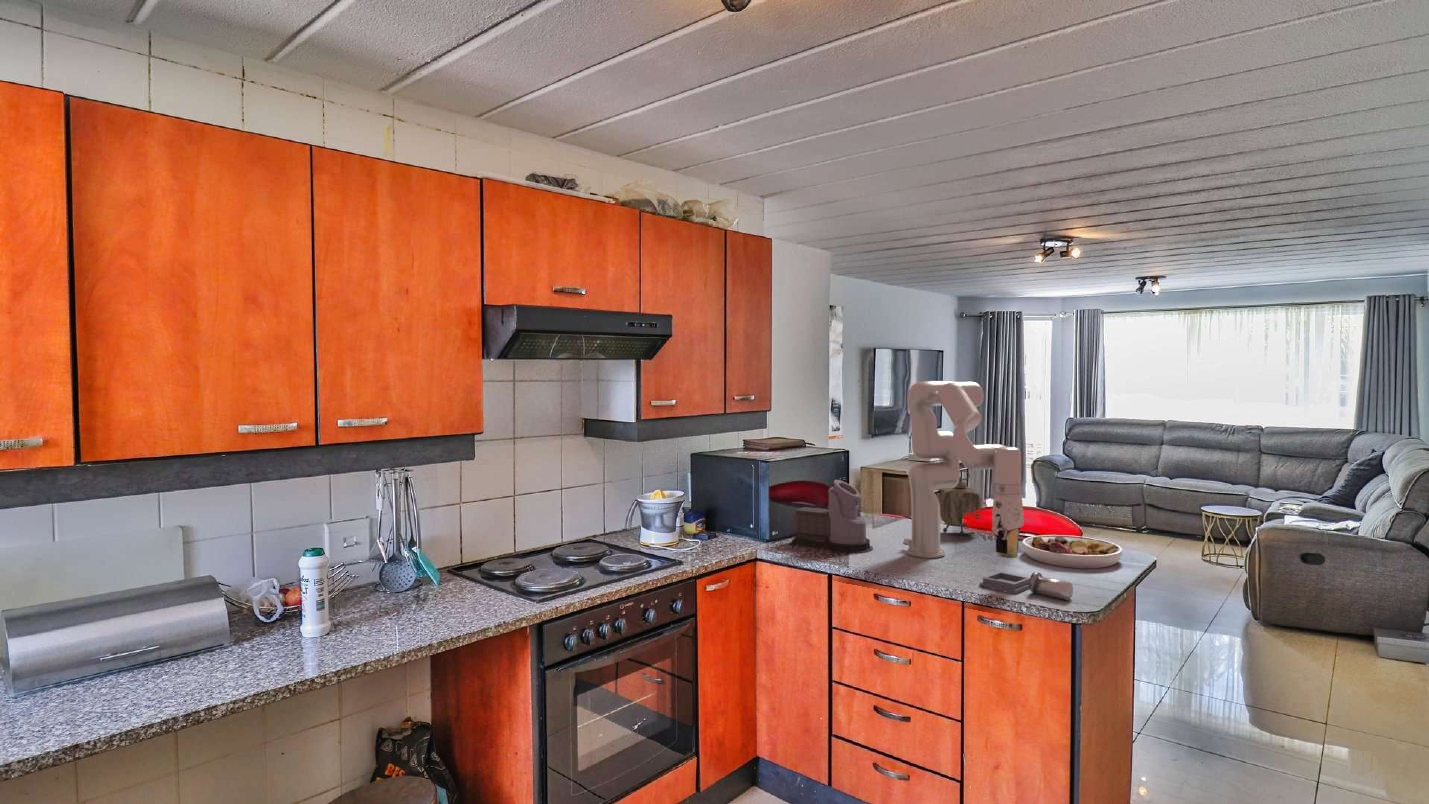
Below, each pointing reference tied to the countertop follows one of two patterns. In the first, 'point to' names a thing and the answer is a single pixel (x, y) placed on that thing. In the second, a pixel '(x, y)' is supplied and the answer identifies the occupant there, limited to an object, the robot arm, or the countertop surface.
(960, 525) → the tabletop clock
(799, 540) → the juicer
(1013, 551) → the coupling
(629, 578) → the countertop surface
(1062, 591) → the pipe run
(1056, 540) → the bowl
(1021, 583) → the grey square tray
